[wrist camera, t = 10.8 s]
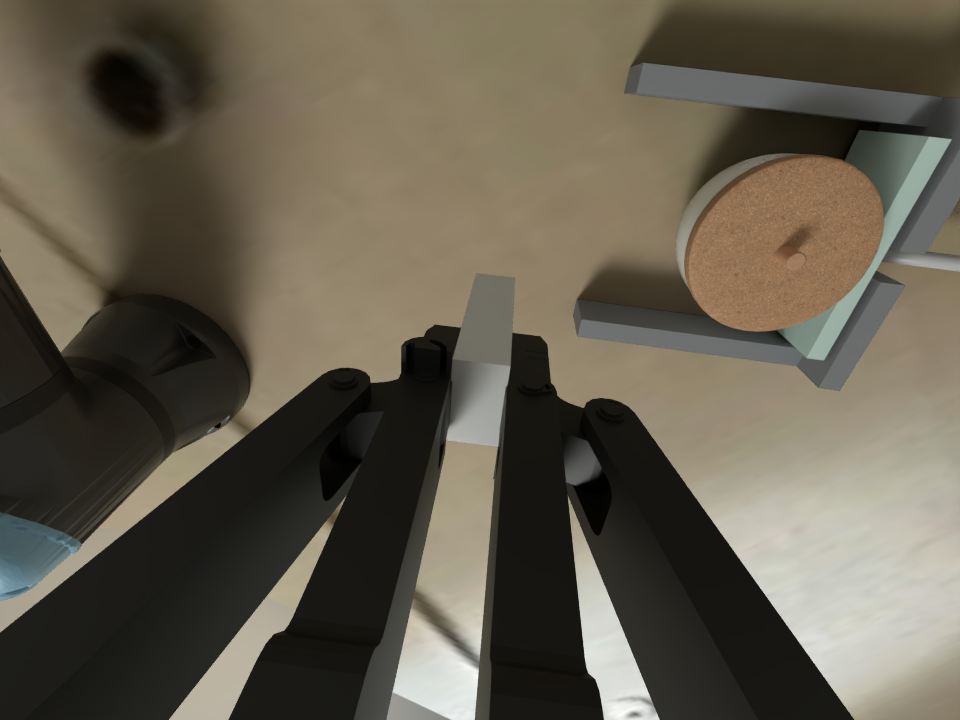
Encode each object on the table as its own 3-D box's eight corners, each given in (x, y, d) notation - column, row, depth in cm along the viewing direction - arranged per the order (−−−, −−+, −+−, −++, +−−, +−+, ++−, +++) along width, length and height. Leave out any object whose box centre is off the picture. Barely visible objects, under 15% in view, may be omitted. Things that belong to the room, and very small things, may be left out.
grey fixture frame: (573, 315, 39) (581, 355, 33) (630, 67, 29) (655, 58, 23) (790, 344, 38) (839, 390, 32) (918, 100, 29) (1020, 100, 23)
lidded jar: (645, 176, 33) (684, 202, 25) (811, 118, 30) (914, 125, 22) (670, 305, 37) (708, 363, 29) (814, 265, 35) (900, 316, 27)
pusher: (767, 321, 37) (806, 358, 31) (859, 129, 29) (929, 136, 24) (976, 349, 36) (1050, 391, 31) (1120, 160, 29) (1249, 174, 24)
